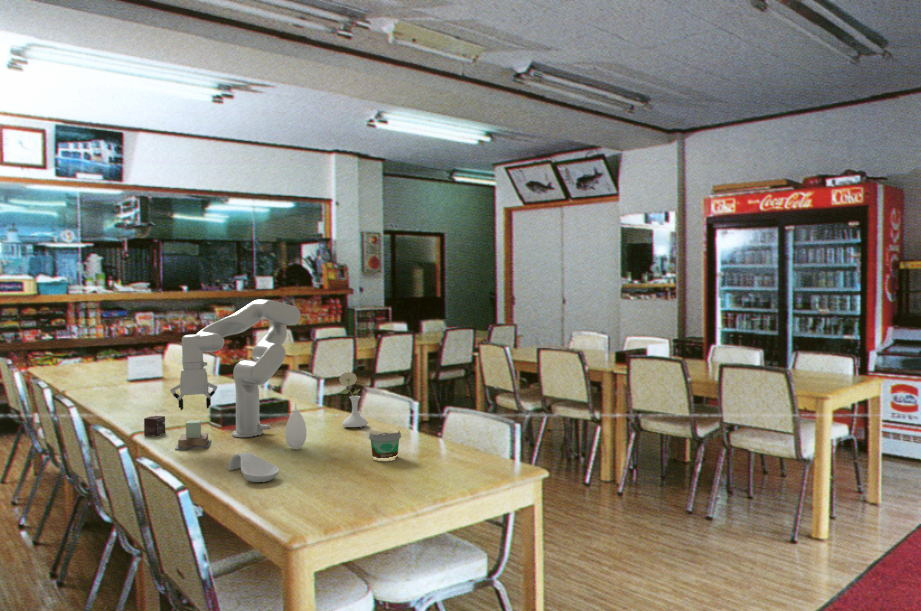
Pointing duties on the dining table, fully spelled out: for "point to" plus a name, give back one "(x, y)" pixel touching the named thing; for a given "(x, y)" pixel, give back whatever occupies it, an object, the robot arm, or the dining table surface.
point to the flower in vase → (354, 418)
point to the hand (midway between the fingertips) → (195, 408)
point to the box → (154, 425)
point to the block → (193, 429)
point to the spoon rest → (253, 467)
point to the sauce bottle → (295, 430)
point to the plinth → (193, 442)
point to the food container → (385, 444)
